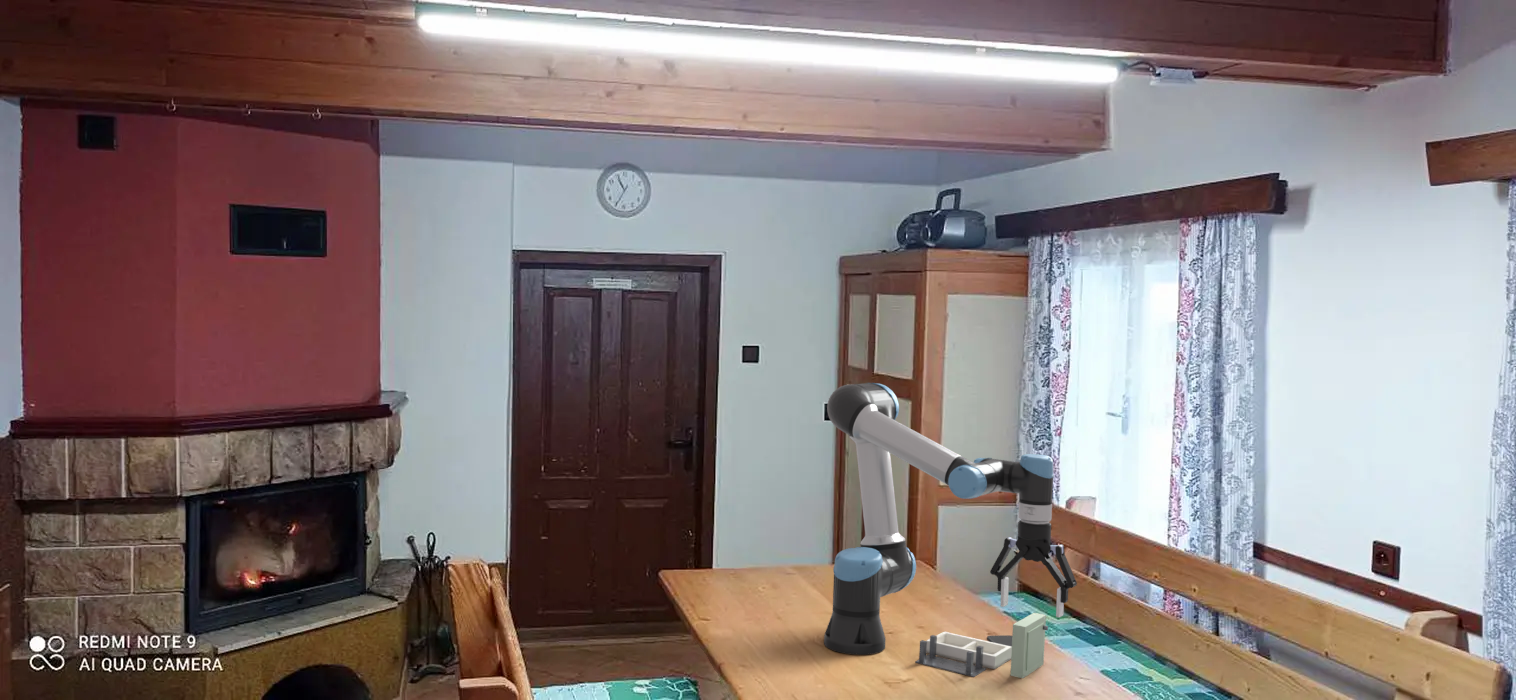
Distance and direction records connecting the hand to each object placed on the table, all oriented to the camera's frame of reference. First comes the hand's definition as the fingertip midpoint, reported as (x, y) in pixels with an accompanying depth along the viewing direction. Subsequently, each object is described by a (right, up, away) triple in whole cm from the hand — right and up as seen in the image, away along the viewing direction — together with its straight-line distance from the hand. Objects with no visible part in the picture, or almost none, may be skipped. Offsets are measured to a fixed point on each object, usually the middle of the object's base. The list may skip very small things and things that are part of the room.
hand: (1031, 610), depth 258 cm
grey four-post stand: (-19, -13, +1) cm, 23 cm away
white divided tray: (-13, -13, +9) cm, 21 cm away
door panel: (-1, -14, +1) cm, 14 cm away
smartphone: (-1, -14, +18) cm, 23 cm away
